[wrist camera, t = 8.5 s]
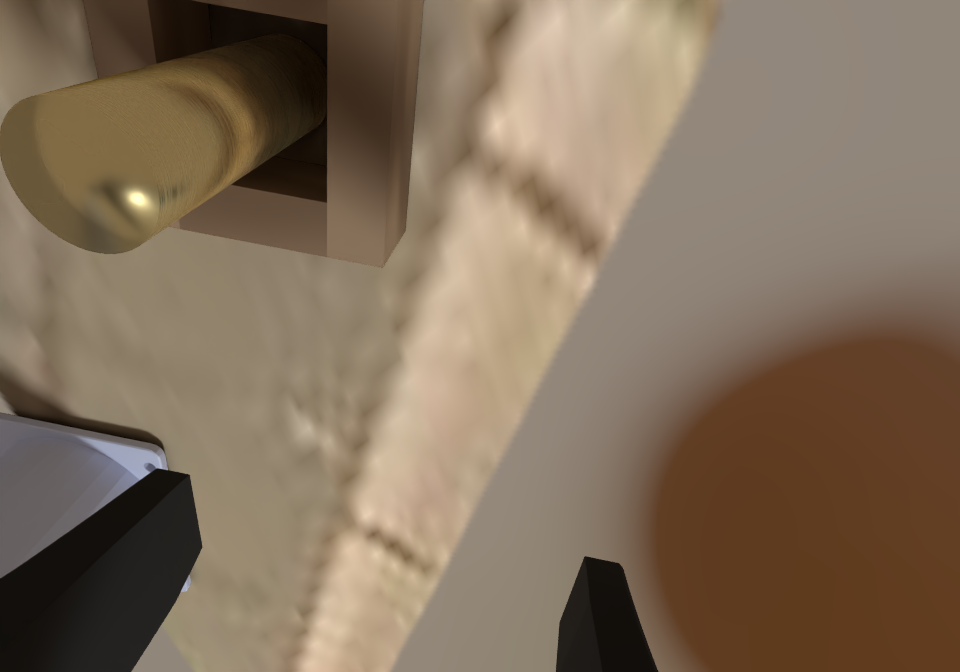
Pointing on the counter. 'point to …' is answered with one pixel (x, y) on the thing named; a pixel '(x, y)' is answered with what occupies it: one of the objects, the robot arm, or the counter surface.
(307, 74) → the brass pin
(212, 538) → the counter surface
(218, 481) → the counter surface
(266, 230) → the socket block
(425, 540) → the counter surface
